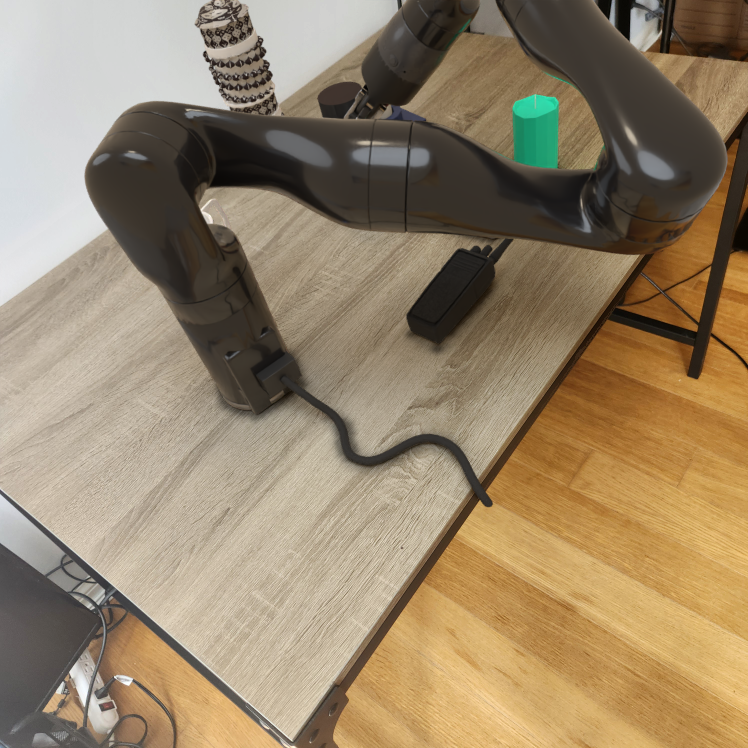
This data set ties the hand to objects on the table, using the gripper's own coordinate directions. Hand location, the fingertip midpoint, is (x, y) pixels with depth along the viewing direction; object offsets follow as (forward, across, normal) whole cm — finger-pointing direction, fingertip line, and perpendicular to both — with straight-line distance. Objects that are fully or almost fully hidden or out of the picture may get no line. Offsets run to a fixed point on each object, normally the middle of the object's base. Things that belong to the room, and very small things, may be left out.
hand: (341, 143), depth 90 cm
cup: (+17, -19, +3) cm, 26 cm away
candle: (-10, +10, -25) cm, 28 cm away
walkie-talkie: (-8, -15, -23) cm, 29 cm away
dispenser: (+9, +19, -5) cm, 21 cm away
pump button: (+7, +19, -3) cm, 20 cm away
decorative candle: (+22, +10, +7) cm, 25 cm away
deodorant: (+4, 0, -7) cm, 8 cm away
